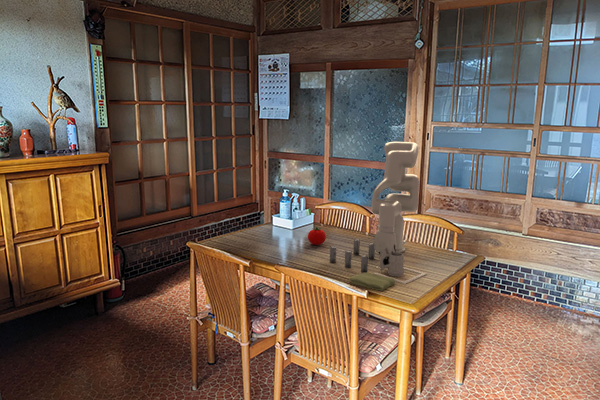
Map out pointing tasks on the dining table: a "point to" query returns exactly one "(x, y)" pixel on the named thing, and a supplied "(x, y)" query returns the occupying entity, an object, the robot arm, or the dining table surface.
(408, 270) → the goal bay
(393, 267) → the mug
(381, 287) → the washcloth
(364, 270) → the posts
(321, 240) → the tomato
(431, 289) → the dining table surface
